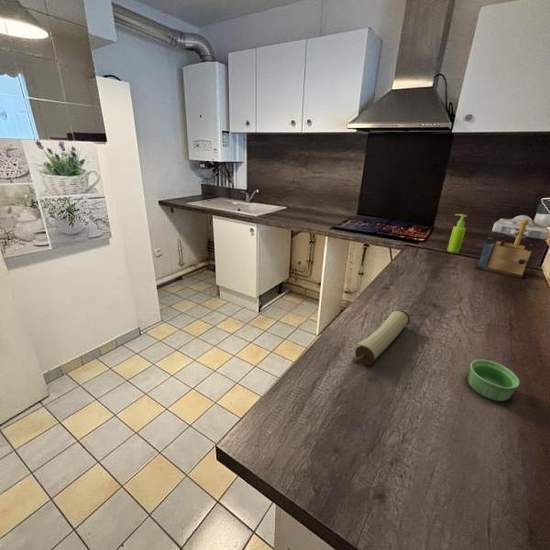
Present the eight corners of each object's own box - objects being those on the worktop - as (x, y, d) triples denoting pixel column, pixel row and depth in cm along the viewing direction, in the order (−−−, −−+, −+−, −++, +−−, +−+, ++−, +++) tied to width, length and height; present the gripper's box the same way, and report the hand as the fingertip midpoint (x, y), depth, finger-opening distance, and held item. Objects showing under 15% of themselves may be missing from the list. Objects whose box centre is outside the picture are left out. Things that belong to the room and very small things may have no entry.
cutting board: (522, 274, 130) (534, 244, 125) (521, 278, 126) (534, 247, 120) (477, 265, 140) (487, 236, 134) (476, 268, 136) (486, 238, 130)
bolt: (524, 248, 126) (534, 220, 121) (523, 249, 124) (535, 221, 119) (496, 243, 132) (505, 216, 127) (495, 244, 130) (505, 217, 125)
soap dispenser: (447, 248, 164) (457, 212, 156) (460, 251, 159) (471, 215, 151) (443, 250, 161) (453, 214, 153) (456, 253, 156) (467, 216, 148)
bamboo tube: (364, 376, 68) (368, 359, 66) (343, 365, 72) (346, 348, 70) (413, 323, 90) (417, 309, 88) (396, 317, 93) (399, 303, 91)
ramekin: (468, 368, 72) (473, 354, 70) (513, 386, 67) (520, 371, 65) (462, 389, 65) (467, 374, 64) (511, 410, 60) (519, 395, 58)
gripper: (547, 239, 129) (549, 246, 119) (492, 230, 141) (489, 236, 131) (553, 225, 127) (555, 231, 117) (496, 217, 138) (494, 222, 128)
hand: (520, 233), depth 124 cm, fingers closed on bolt, 2 cm apart
